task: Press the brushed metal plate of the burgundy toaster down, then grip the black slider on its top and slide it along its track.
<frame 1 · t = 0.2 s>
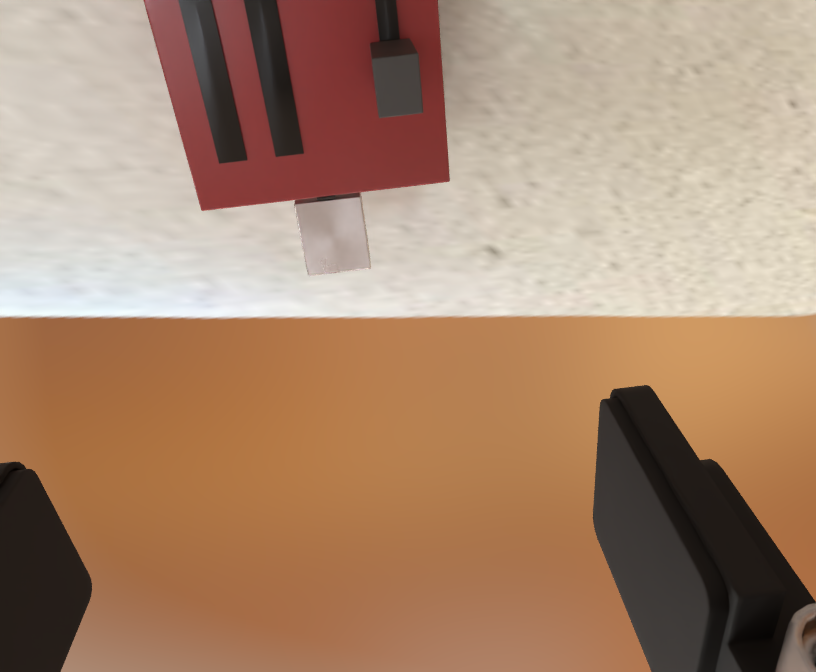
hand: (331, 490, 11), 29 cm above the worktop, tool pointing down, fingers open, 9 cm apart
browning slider: (395, 76, 24), point 11 cm above the worktop, slide at 0.0 cm
brushed metal plate: (333, 232, 31), point 8 cm above the worktop, slide at 0.0 cm
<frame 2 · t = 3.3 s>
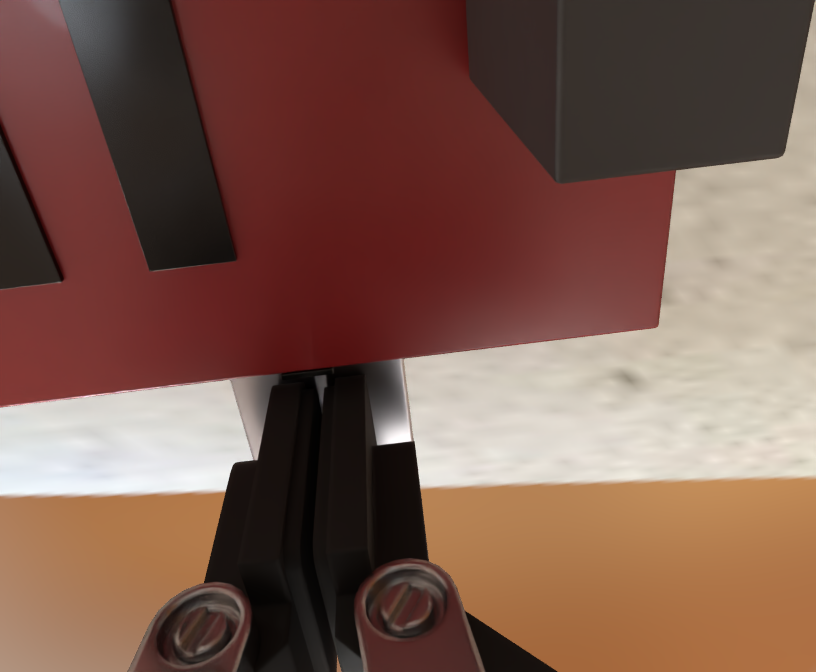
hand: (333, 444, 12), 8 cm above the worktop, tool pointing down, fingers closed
brushed metal plate: (331, 417, 13), point 7 cm above the worktop, slide at 0.6 cm, touching gripper
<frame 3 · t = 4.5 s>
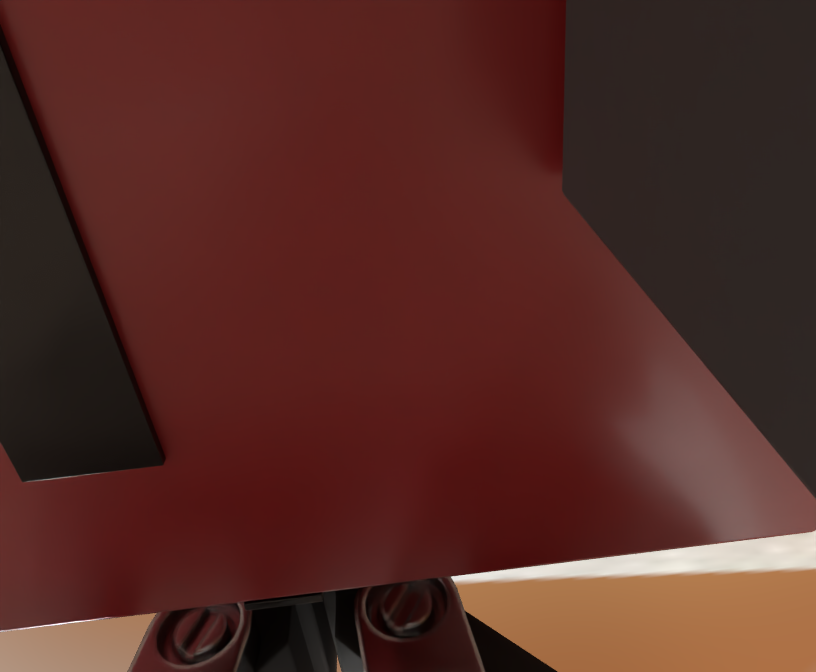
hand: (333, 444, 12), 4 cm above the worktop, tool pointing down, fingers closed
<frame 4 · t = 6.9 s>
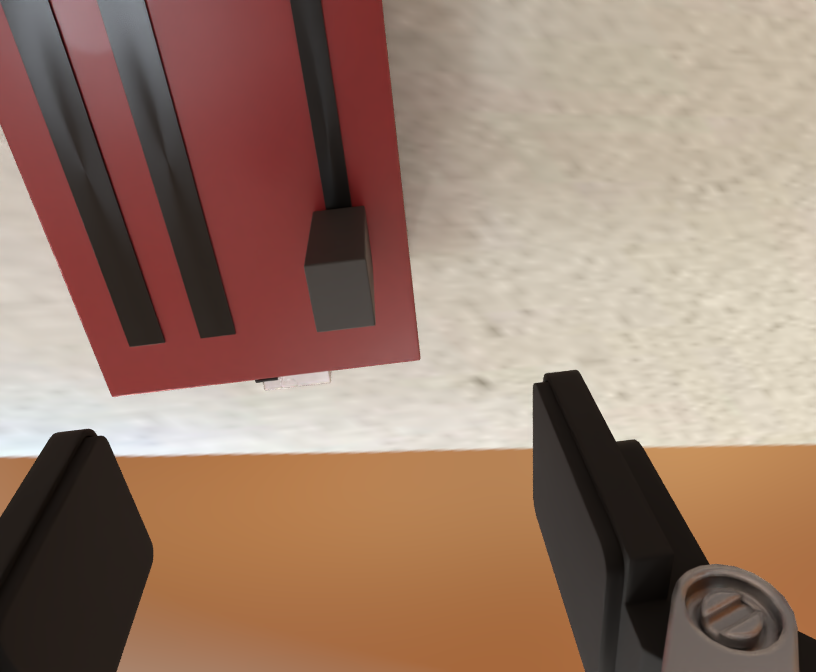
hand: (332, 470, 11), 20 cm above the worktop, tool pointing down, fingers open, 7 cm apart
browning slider: (342, 265, 19), point 11 cm above the worktop, slide at 0.0 cm
toaster: (251, 94, 27), on the worktop
brushed metal plate: (291, 346, 29), point 3 cm above the worktop, slide at 4.6 cm
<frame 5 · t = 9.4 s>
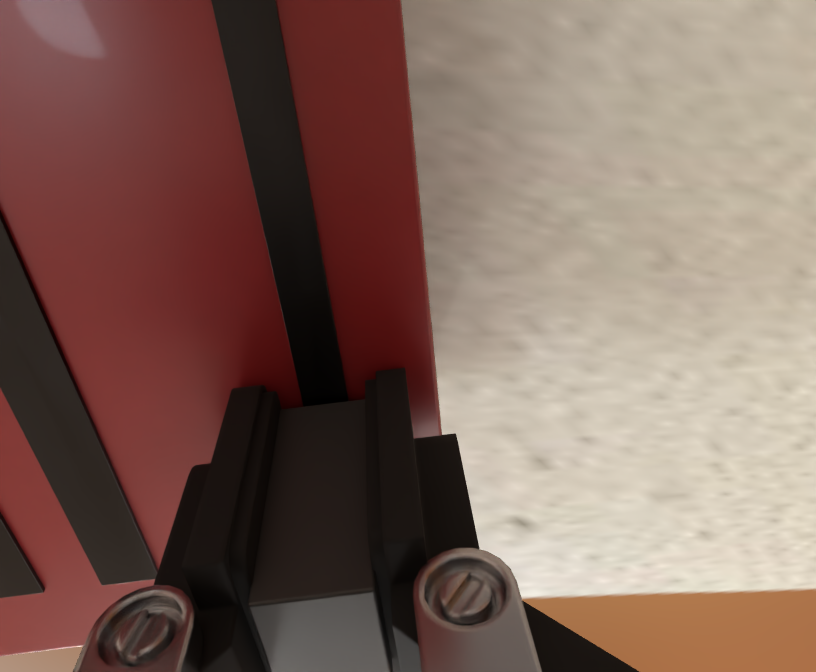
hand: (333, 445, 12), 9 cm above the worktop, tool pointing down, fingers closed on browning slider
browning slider: (329, 530, 10), point 11 cm above the worktop, slide at 0.0 cm, touching gripper
toaster: (202, 163, 18), on the worktop
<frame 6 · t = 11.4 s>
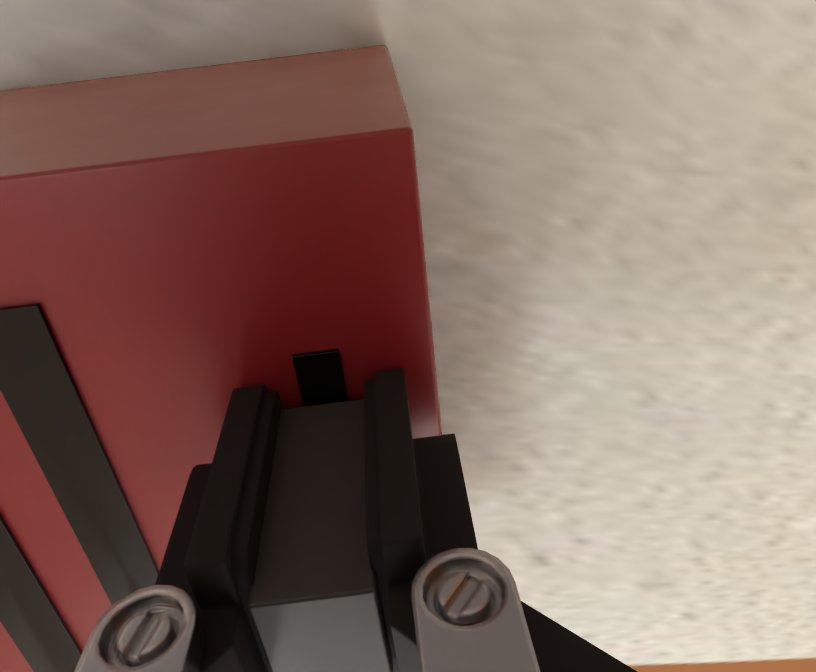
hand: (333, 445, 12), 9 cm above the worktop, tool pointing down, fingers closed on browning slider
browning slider: (329, 530, 10), point 11 cm above the worktop, slide at 5.6 cm, touching gripper
toaster: (246, 333, 21), on the worktop
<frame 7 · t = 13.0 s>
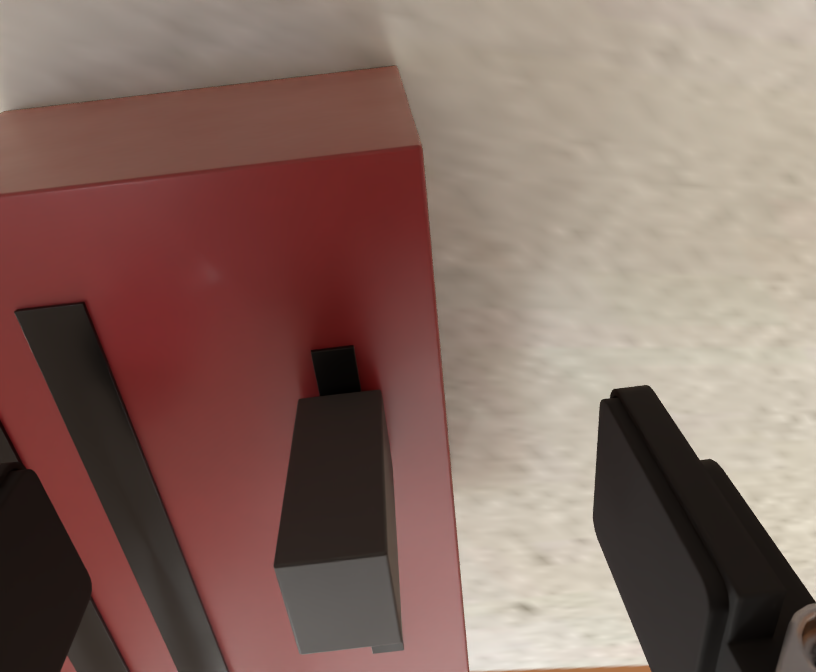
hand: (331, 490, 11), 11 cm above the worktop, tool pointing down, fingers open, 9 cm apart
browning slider: (344, 507, 11), point 11 cm above the worktop, slide at 5.6 cm
toaster: (261, 336, 22), on the worktop
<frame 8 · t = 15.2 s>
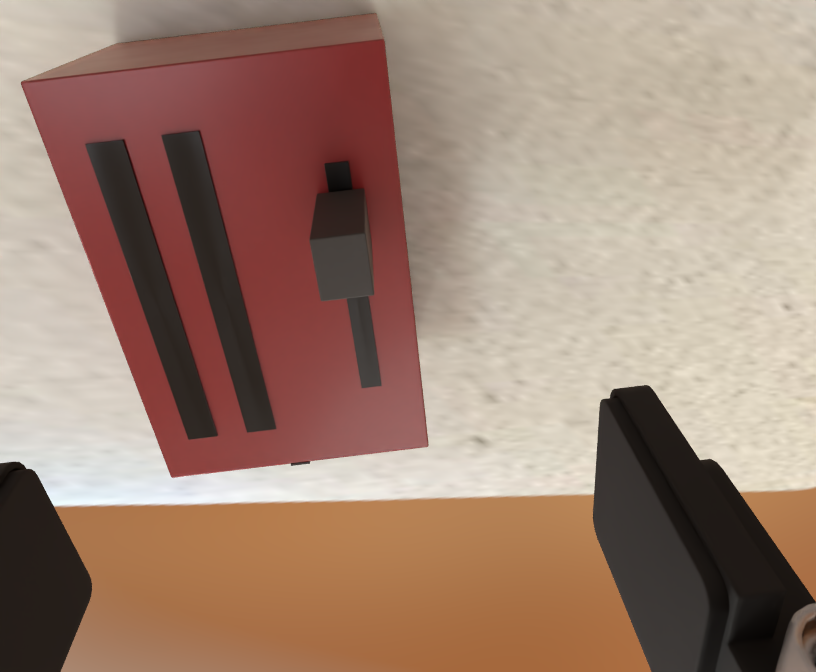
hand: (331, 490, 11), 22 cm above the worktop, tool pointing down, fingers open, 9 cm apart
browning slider: (343, 241, 21), point 11 cm above the worktop, slide at 5.6 cm
toaster: (283, 210, 32), on the worktop
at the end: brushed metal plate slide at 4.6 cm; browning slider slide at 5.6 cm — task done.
